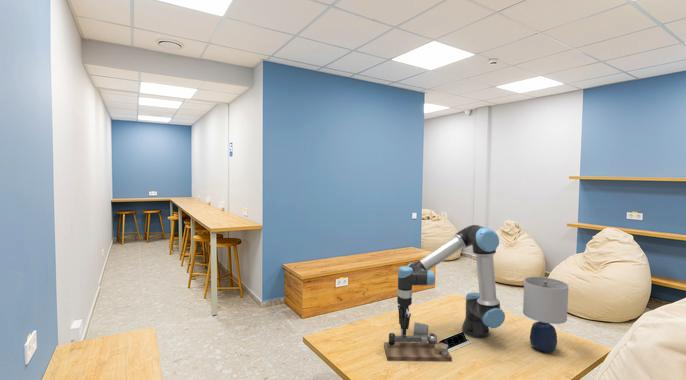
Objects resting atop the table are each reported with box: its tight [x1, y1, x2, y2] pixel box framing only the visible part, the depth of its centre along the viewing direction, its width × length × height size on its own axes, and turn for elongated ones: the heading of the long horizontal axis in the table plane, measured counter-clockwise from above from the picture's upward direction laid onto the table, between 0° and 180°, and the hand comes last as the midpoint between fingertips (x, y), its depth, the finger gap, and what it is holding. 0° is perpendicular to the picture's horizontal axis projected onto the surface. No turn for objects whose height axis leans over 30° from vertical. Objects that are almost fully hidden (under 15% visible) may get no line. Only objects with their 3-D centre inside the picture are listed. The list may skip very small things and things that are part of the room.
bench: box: [383, 341, 453, 362], centre depth 183 cm, size 32×15×6 cm, turn 90°
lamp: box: [522, 276, 569, 353], centre depth 188 cm, size 20×20×37 cm
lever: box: [388, 332, 438, 345], centre depth 186 cm, size 26×5×5 cm, turn 93°
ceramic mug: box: [413, 322, 429, 335], centre depth 203 cm, size 11×8×8 cm
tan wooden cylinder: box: [435, 344, 442, 354], centre depth 180 cm, size 4×4×4 cm
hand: (403, 339), depth 188 cm, fingers closed
